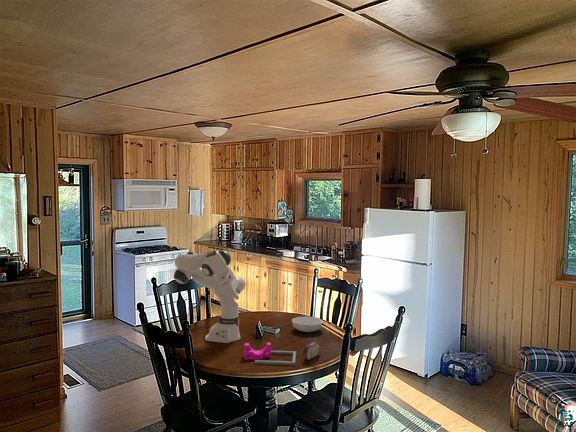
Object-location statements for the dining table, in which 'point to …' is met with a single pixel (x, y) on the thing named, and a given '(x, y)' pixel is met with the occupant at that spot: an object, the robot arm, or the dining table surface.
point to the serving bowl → (307, 324)
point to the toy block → (256, 352)
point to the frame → (279, 361)
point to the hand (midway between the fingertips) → (238, 296)
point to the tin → (311, 350)
